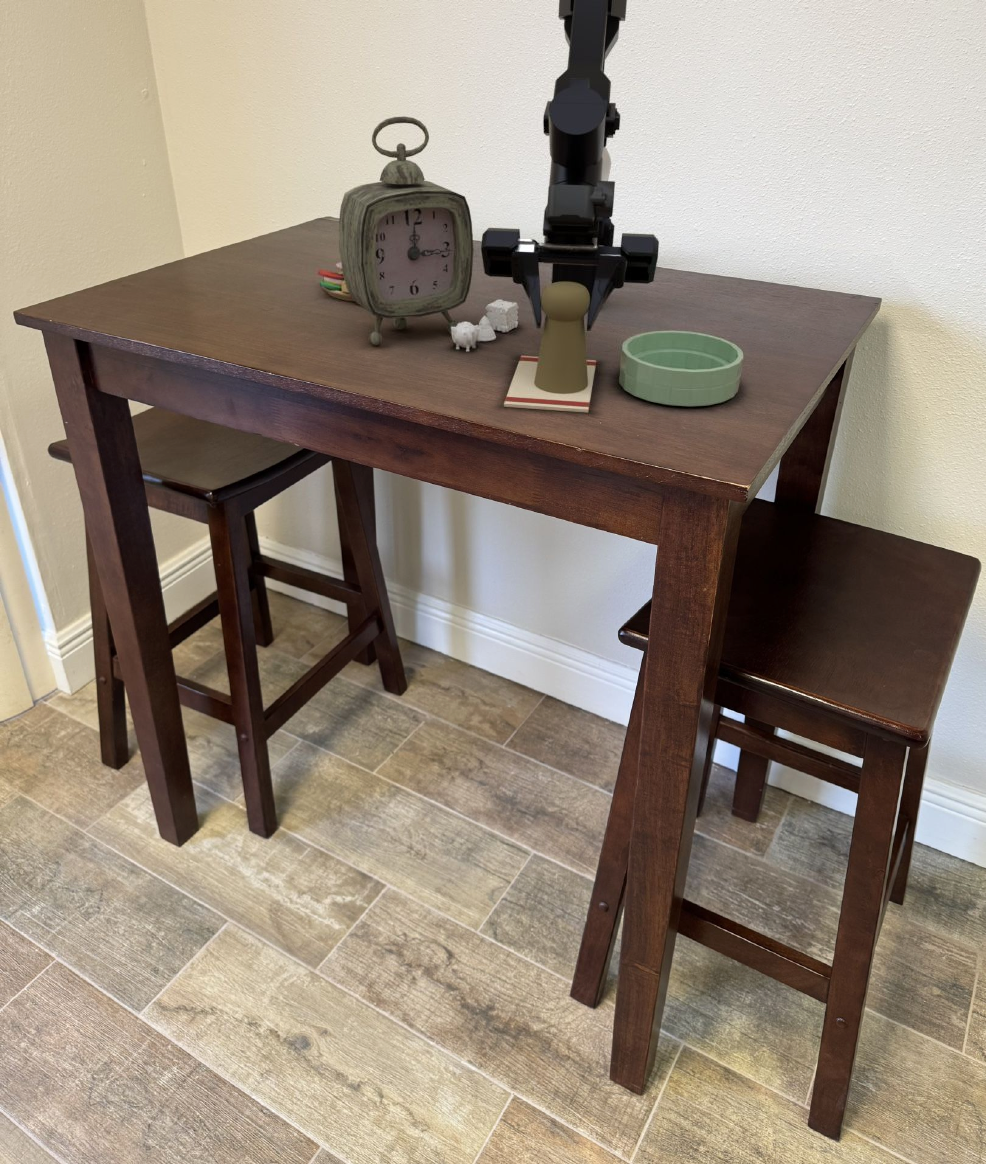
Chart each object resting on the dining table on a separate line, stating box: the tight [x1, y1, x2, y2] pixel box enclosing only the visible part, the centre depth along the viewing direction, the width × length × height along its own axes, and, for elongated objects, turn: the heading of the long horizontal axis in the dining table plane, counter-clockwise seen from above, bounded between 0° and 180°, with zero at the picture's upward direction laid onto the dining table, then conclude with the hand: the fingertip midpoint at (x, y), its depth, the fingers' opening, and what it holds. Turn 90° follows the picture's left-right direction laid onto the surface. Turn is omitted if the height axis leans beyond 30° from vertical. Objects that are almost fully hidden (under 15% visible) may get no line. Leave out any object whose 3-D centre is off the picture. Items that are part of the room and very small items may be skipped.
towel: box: [503, 355, 597, 414], centre depth 106 cm, size 9×15×1 cm, turn 172°
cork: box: [534, 281, 590, 394], centre depth 102 cm, size 6×6×11 cm
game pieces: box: [450, 299, 520, 352], centre depth 118 cm, size 12×3×3 cm, turn 149°
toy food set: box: [317, 261, 357, 303], centre depth 134 cm, size 13×13×3 cm
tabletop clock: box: [338, 116, 475, 346], centre depth 113 cm, size 14×9×25 cm, turn 117°
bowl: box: [618, 330, 745, 407], centre depth 105 cm, size 13×13×4 cm
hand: (563, 327), depth 100 cm, fingers closed on cork, 5 cm apart
